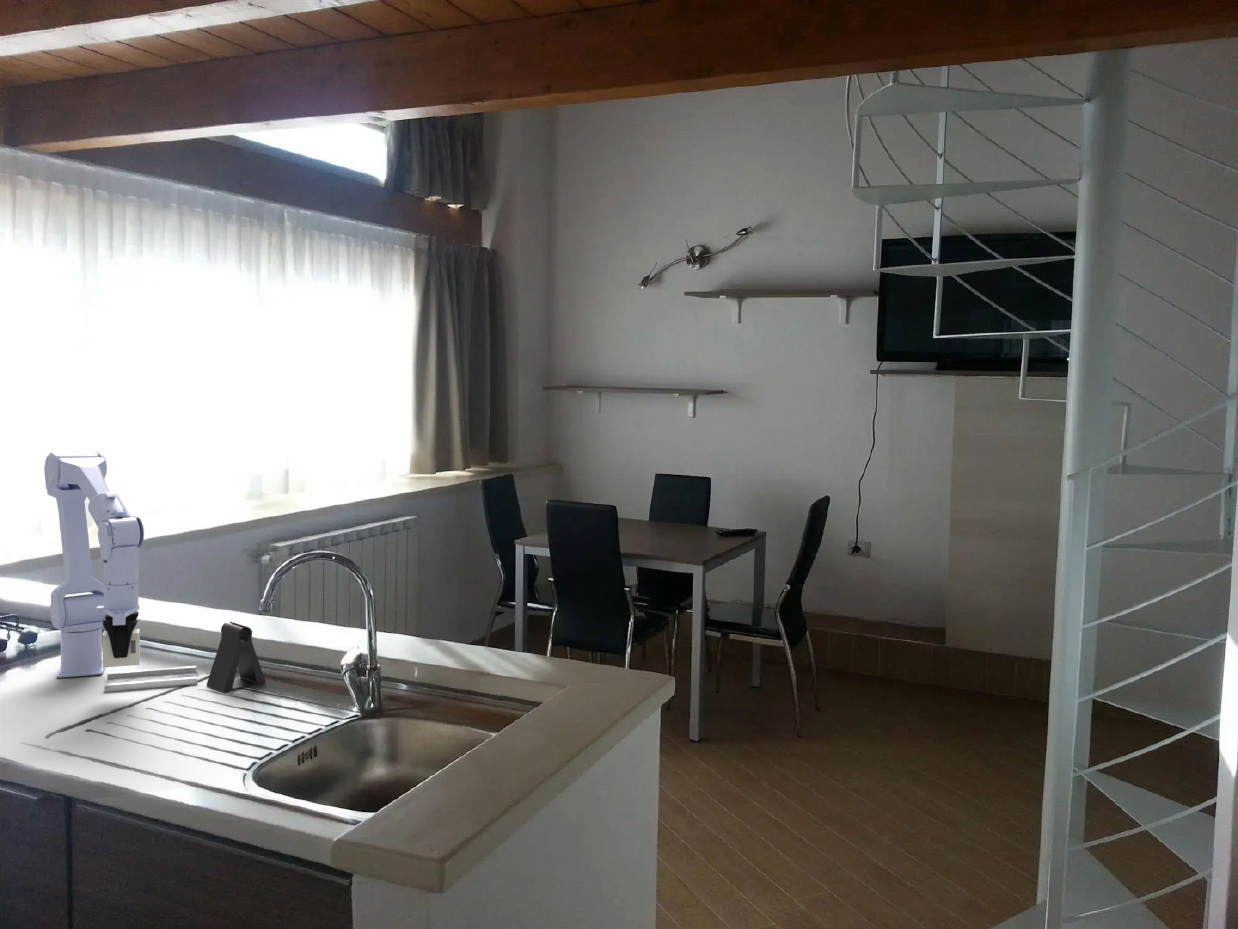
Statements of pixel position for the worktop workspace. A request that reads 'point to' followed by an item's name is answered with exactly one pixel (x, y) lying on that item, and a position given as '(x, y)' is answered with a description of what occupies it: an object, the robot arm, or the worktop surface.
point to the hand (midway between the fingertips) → (121, 654)
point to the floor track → (150, 678)
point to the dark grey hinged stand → (235, 660)
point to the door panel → (133, 652)
